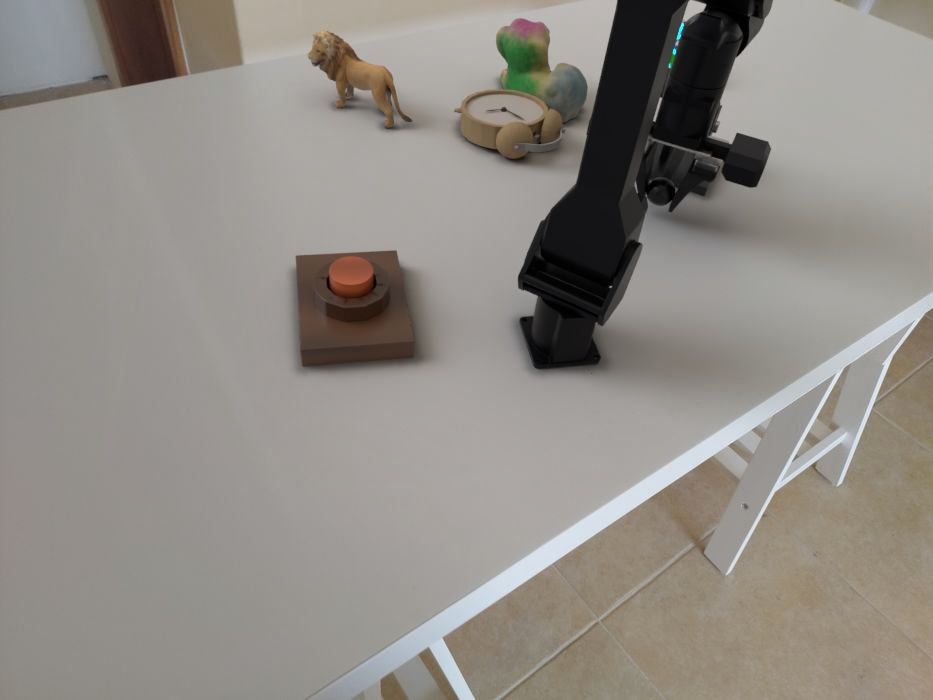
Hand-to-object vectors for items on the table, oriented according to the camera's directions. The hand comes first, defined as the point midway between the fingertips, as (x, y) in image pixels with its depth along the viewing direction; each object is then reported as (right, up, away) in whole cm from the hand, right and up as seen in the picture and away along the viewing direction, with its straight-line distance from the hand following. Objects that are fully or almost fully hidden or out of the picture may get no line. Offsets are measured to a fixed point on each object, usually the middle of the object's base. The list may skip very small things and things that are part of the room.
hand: (656, 205), depth 85 cm
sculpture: (-12, +18, +19) cm, 29 cm away
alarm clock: (-16, +11, +11) cm, 22 cm away
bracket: (+6, +7, +10) cm, 14 cm away
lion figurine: (-36, +15, +13) cm, 41 cm away
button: (-33, -11, -17) cm, 38 cm away
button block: (-33, -13, -14) cm, 38 cm away
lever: (+3, +6, +4) cm, 7 cm away
